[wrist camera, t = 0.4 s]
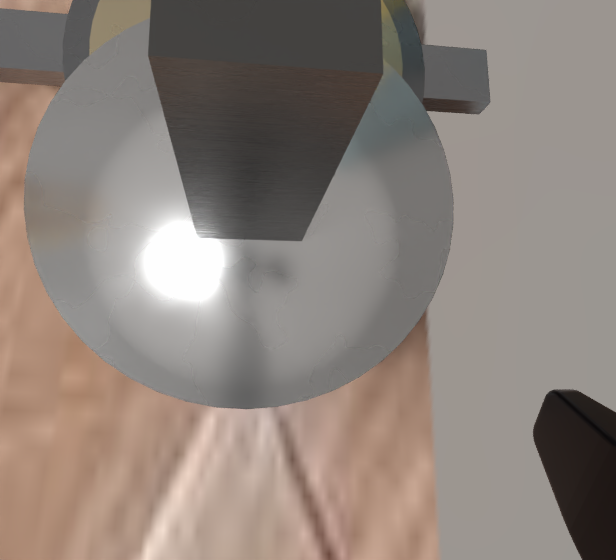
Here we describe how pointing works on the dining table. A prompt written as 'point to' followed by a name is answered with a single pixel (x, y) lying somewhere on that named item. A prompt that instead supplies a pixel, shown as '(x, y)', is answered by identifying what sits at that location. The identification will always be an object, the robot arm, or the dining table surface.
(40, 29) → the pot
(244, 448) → the dining table surface
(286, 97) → the disc with square post
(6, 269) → the dining table surface
